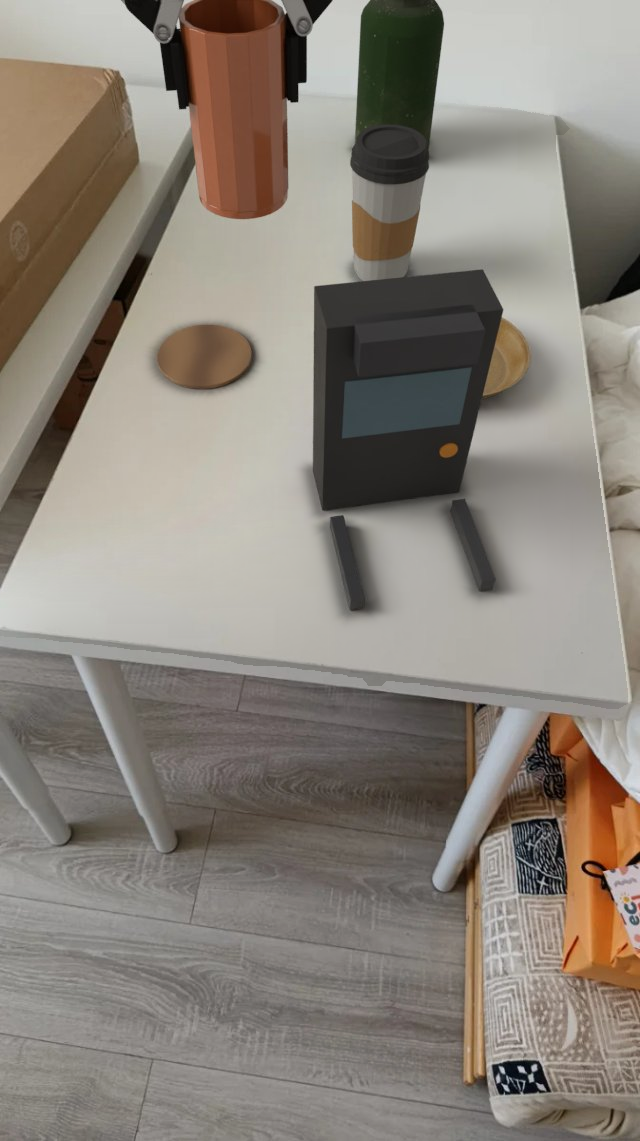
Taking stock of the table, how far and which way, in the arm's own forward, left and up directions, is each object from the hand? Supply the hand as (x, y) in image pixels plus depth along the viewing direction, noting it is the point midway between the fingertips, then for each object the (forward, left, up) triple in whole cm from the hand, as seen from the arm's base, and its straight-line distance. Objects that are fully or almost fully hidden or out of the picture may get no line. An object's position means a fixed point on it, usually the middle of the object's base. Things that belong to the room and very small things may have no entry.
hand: (236, 95), depth 54 cm
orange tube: (0, 0, -7) cm, 7 cm away
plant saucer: (+21, +3, -30) cm, 37 cm away
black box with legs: (+10, -17, -30) cm, 36 cm away
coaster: (-5, +9, -30) cm, 31 cm away
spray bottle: (+25, +49, -30) cm, 63 cm away
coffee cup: (+17, +21, -30) cm, 41 cm away
